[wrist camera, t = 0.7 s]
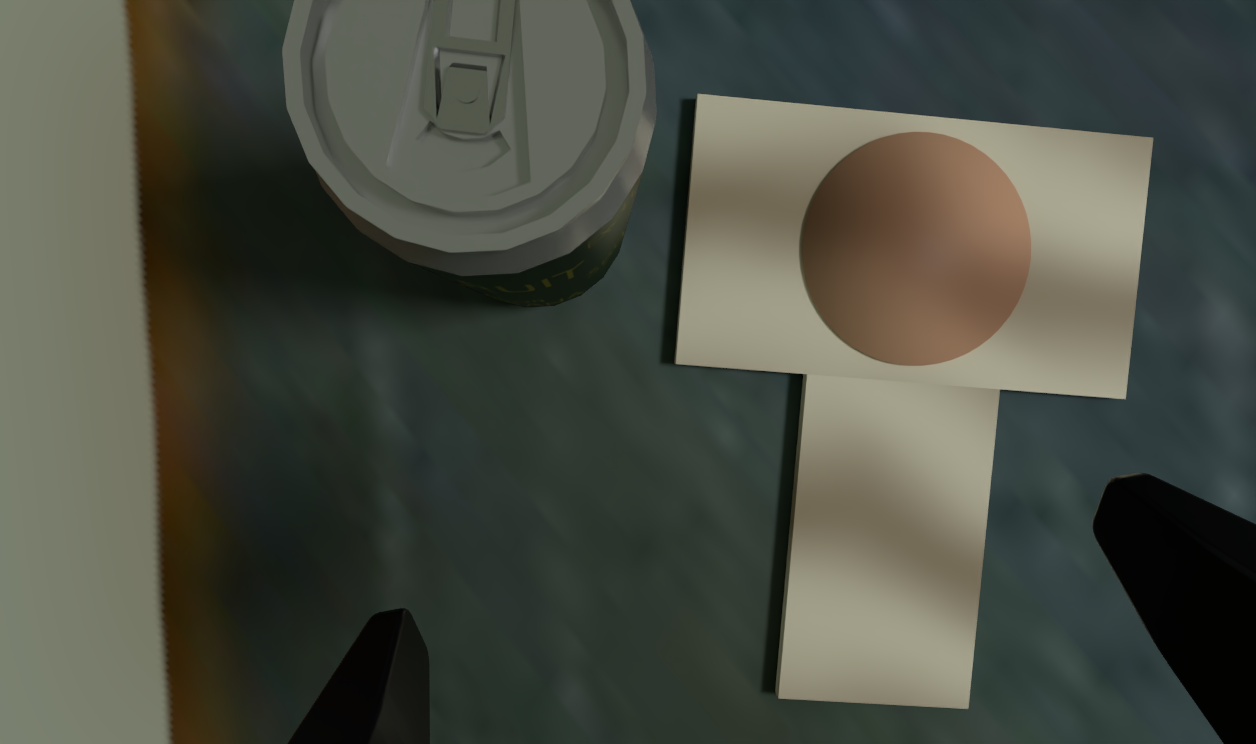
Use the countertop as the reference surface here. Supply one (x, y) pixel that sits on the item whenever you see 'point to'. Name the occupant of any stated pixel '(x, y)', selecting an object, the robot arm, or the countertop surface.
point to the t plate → (902, 348)
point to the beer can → (478, 132)
